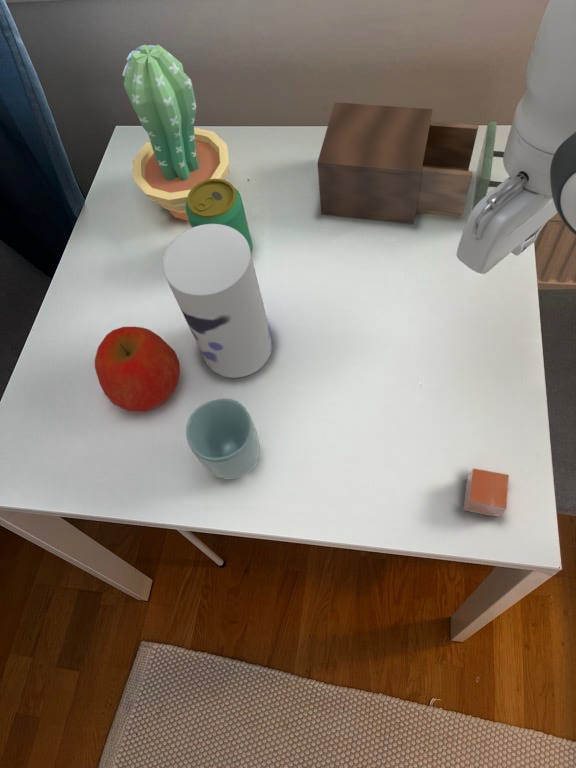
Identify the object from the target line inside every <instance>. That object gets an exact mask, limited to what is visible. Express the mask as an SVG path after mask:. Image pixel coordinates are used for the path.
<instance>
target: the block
mask: <svg viewBox="0 0 576 768" xmlns="http://www.w3.org/2000/svg"><path fill="white" fill-rule="evenodd" d="M509 478H510V475H509V474H506V473H500V472H496V471H490V470H485V469H480V468H472V470H471V472H470V473H469V474H468V477H467V478H466V485H465V486H466V487H465V495H464V503H463V504H464V505H463V511H467V512H471V513H476V514H482V515H486V516H491V517H496V518H499V517H500V516H501V515H502V514H503V513H504V511H505V510H506V509H507V507H508V505H507V504H508V491H509V481H510V479H509Z"/></svg>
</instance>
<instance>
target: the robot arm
mask: <svg viewBox="0 0 576 768" xmlns="http://www.w3.org/2000/svg"><path fill="white" fill-rule="evenodd" d="M525 73H526V74H525V86H526V87H525V92H524V93H523V96H522V97H521V98H520V100H519V102H518V103H517V106H516V108H515V111H514V113H513V114H514V115H513V117H512V122H511V126H510V130H509V133H508V136H507V141H506V144H505V148H504V150H503V152H504V155H503V157H502V162H503V168H504V169H505V172H506V174H507V175H508V176H509V177H506V179H505V180H503V181H501V182H502V183H501V184H500V185H499V186H497V187H494V189H492V190H491V191H490V192H489V193H487V194H486V196H485V197H484V198H483V199H482V200H480V202H479V203H478V204H477V205H476V206H475V207H474V209H473V210H472V209H471V211H472V212H470V214H469V216H468V218H467V220H466V222H465V224H464V228H463V230H462V234H461V237H460V240H459V243H458V246H457V250H456V257H457V259H458V260H459V261H460V262H461V263H462V264H463V265H465V267H467V268H468V269H469V270H472V271H473V272H475V273H477V274H480V275H485V274H487V273H489V272H490V271H491V270H493V268H495V266H497V265H498V264H499V263H500V262H501V261H503V260H504V259H505V258H507V256H509V255H510V254H512V255H514V256H519V255H520V254H522V253H523V252H524V251H526V249H528V248H529V247H530V246H531V245H532V244H534V243H535V242H536V240H537V238H538V236H539V233H540V232H541V231H542V229H543V228H544V226H545V225H546V224H547V223H548V221H550V220H551V219H552V218H553V217H555V216H556V215H557V214H558V216H559V218H560V220H561V221H562V223H563V224H564V226H566V228H567V229H568V230H569V231H570V232H571V233H572V234H574V235H575V236H576V0H549V1H548V4H547V6H546V7H545V11H544V14H543V16H542V19H541V22H540V25H539V27H538V31H537V33H536V36H535V40H534V43H533V46H532V49H531V53H530V56H529V59H528V63H527V67H526V70H525Z"/></svg>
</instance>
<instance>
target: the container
mask: <svg viewBox="0 0 576 768" xmlns="http://www.w3.org/2000/svg"><path fill="white" fill-rule="evenodd" d="M162 273H163V275H164V278H165V280H166V282H167V283H168V286H169V288H170V290H171V292H172V294H173V296H174V298H175V300H176V303H177V305H178V307H179V309H180V311H181V313H182V315H183V317H184V319H185V322H186V324H187V326H188V328H189V330H190V332H191V334H192V336H193V338H194V340H195V342H196V345H197V346H198V349H199V350H200V352H201V355H202V357H203V358H204V362H205V363H206V365H207V366H208V368H209V369H210V370H212V371H213V372H214V373H216V374H218V375H219V376H222V377H226V378H232V379H233V378H235V379H236V378H243V377H247V376H249V375H252V374H254V373H256V372H257V371H259V370H260V369H261V368H263V367H264V366H265V364H266V363H267V362H268V360H269V359H270V357H271V355H272V351H273V345H274V344H273V338H272V332H271V329H270V324H269V321H268V317H267V313H266V308H265V305H264V302H263V297H262V292H261V288H260V284H259V281H258V276H257V272H256V268H255V263H254V260H253V256H252V253H251V252H250V248H249V245H248V242H247V240H246V239H245V238H244V236H243V235H242V234H241V233H240V232H238V231H237V230H235V229H233V228H231V227H229V226H225V225H221V224H205V225H199V226H196V227H193V228H192V227H191V228H189V229H186V230H184V231H183V232H182V233H180V234H179V235H177V236H176V237H175V238H174V239H173V240H172V241H171V242H170V243H169V244H168V246H167V248H166V249H165V252H164V253H163V257H162Z"/></svg>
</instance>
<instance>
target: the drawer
mask: <svg viewBox="0 0 576 768" xmlns="http://www.w3.org/2000/svg"><path fill="white" fill-rule="evenodd" d="M497 125H498V122H497V121H490V120H489V121H488V122H487V126H486V129H485V134H484V138H483V141H482V145H481V146H482V147H481V150H480V155H479V159H478V162H477V166H476V173H475V179H474V180H475V182H474V187H473V188H474V189H473V195H472V196H473V197H472V205H471V212H472V210H473V209H474V207H475V206H476V205H477V204H478V203H479V202H480V200H482V199H483V198H484V197H485V196H486V195H487V194H488V190H489V188H496V187H497V186H499V185H500V184H501V183H502V182H503V181H497V180H495V181H494V180H491V178H492V169H493V161H494V158H503V155H504V151H501V150H499V151H498V150H495V142H496V135H497V134H496V133H497ZM478 130H479V124H469V123H458V122H457V123H456V122H444V121H443V122H441V121H431V122H430V127H429V133H428V138H427V144H426V149H425V155H424V160H423V166H422V171H421V179H420V186H419V193H418V201H417V208H416V214H426V215H435V216H436V215H437V216H443V217H444V216H445V217H455V218H462V217H463V214H464V210H465V206H466V201H467V198H468V193H469V189H470V185H471V180H472V176H473V171H472V170H470V166H471V161H472V156H473V152H474V148H475V143H476V140H477V136H478V135H477V134H478ZM471 212H470V213H471Z"/></svg>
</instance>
